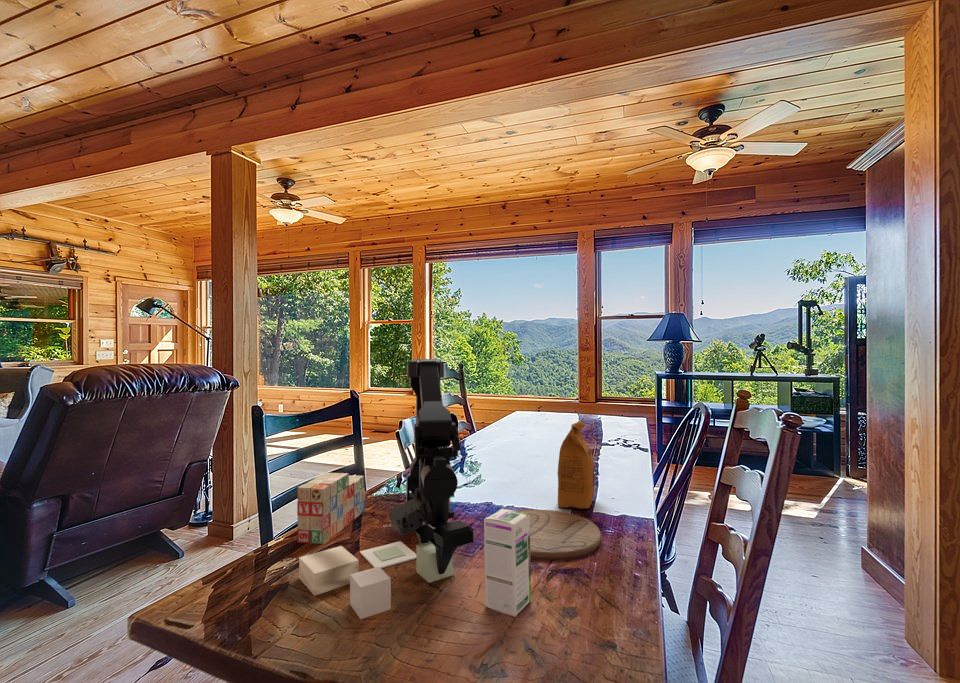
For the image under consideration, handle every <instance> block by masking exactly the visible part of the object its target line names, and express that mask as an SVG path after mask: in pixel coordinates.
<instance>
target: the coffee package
mask: <svg viewBox="0 0 960 683" xmlns="http://www.w3.org/2000/svg"><path fill="white" fill-rule="evenodd" d="M585 426H586V425H585V423H584V422H583V421H582V420H578V421H577V422H575V423H573V424H571V426H570V430H569V431H568V433H567V435H566V437H565V438H564V439H563V441H562V442H561V443H562V444H560V445H561V446H560V449H559V454H558V464H557V507H559V508H562V509H563V508H568V507H570V508H571V507H572V508H575V509H582V510H583V509H589V508H590V507H591V505H592V503H593V500H594V497H595V481H596V480H595V478H596V472H595V461H594V460H595V459H594V456H593V453H592V450H591V447H590V446H589V444H588V443H587V441H586V440H585V437H584V436H583V433H582V429H583V428H585ZM572 508H571V509H572Z"/></svg>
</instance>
